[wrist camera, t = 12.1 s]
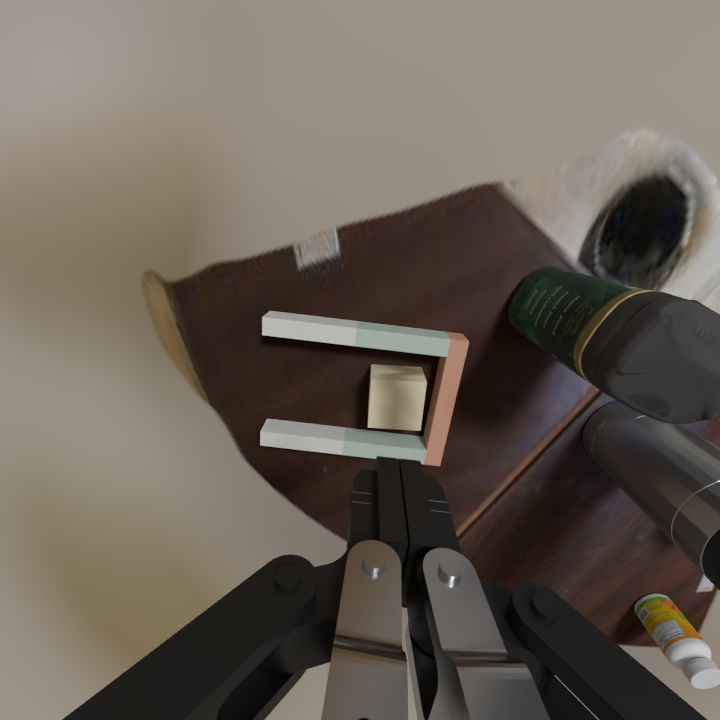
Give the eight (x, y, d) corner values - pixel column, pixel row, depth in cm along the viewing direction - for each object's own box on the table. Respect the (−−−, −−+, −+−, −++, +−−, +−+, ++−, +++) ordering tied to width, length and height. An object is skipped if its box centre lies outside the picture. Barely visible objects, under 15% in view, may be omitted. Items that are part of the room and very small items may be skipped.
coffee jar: (493, 320, 40) (588, 393, 22) (536, 254, 37) (681, 279, 20) (564, 357, 41) (706, 453, 24) (610, 296, 38) (808, 353, 21)
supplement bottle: (675, 607, 55) (736, 683, 46) (641, 621, 56) (693, 697, 47) (662, 587, 53) (722, 661, 44) (627, 601, 54) (678, 676, 45)
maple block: (421, 366, 42) (426, 382, 38) (415, 411, 44) (420, 430, 40) (371, 363, 42) (371, 379, 38) (367, 408, 44) (367, 427, 40)
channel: (462, 333, 40) (469, 341, 37) (435, 451, 46) (440, 466, 43) (269, 310, 40) (262, 317, 37) (266, 432, 46) (260, 445, 43)
